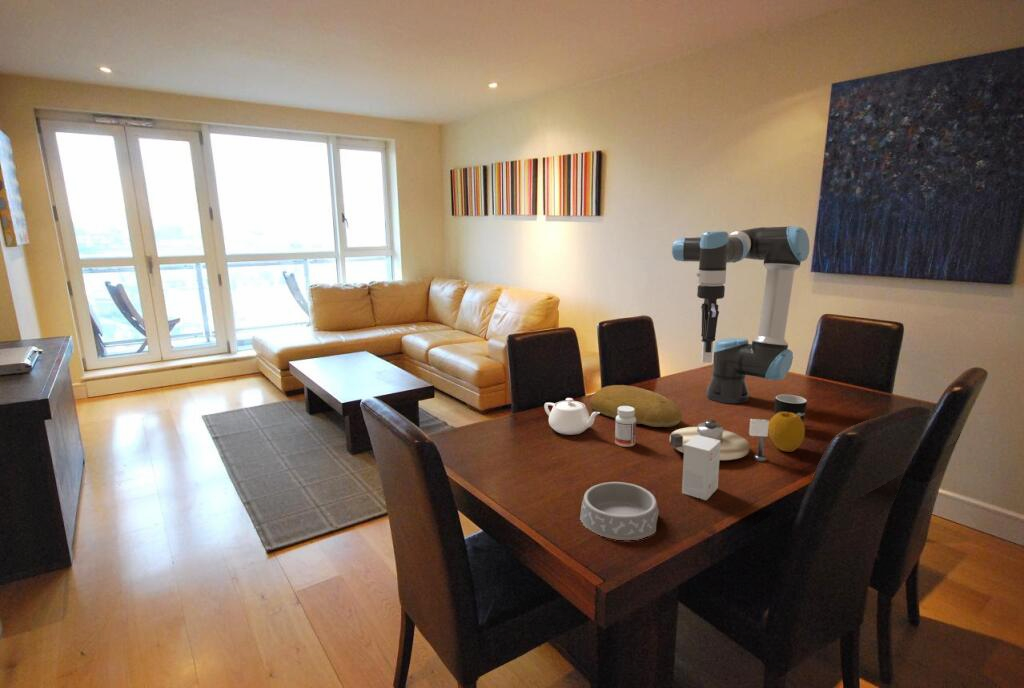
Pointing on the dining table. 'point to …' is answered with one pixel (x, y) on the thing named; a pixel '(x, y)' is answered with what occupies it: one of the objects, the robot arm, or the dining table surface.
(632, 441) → the pill bottle
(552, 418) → the teapot
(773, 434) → the apple
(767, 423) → the silver rod with block
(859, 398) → the dining table surface
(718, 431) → the cover
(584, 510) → the dog bowl
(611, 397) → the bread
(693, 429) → the platter
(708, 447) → the small box
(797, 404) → the mug
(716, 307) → the robot arm
